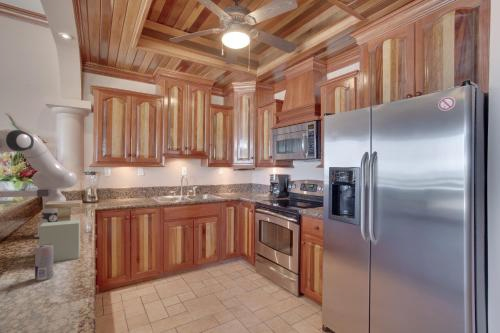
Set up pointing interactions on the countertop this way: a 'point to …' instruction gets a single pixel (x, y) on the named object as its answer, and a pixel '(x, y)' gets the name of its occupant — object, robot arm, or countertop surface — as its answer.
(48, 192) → the hammer
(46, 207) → the stand
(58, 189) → the robot arm
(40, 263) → the energy drink
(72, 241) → the pale green box
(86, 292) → the countertop surface
